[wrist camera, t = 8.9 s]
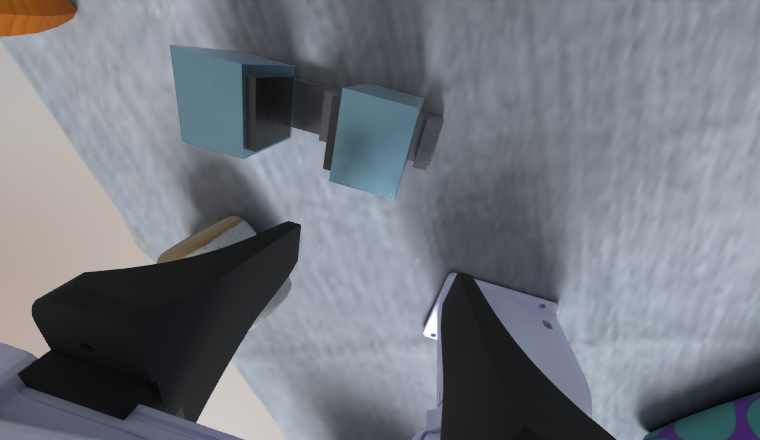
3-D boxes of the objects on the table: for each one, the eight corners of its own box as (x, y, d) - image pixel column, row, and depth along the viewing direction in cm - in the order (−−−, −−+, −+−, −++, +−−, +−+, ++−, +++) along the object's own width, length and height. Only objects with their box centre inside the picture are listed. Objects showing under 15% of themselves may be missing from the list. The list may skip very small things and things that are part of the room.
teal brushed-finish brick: (424, 98, 17) (419, 108, 12) (405, 167, 19) (394, 199, 14) (361, 80, 17) (332, 84, 12) (349, 151, 19) (319, 178, 14)
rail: (447, 104, 18) (452, 121, 12) (426, 170, 20) (421, 210, 14) (250, 52, 19) (164, 43, 13) (250, 120, 21) (178, 140, 15)
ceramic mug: (254, 199, 24) (182, 249, 17) (306, 271, 27) (261, 338, 20) (180, 237, 28) (99, 289, 21) (232, 296, 31) (174, 358, 24)
